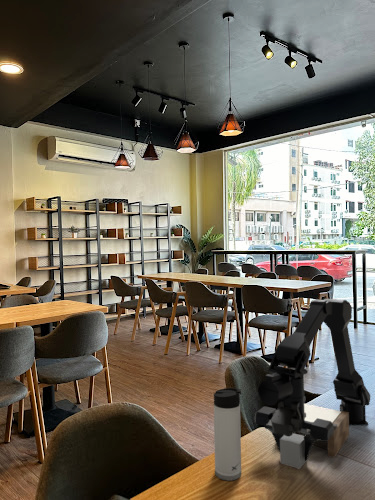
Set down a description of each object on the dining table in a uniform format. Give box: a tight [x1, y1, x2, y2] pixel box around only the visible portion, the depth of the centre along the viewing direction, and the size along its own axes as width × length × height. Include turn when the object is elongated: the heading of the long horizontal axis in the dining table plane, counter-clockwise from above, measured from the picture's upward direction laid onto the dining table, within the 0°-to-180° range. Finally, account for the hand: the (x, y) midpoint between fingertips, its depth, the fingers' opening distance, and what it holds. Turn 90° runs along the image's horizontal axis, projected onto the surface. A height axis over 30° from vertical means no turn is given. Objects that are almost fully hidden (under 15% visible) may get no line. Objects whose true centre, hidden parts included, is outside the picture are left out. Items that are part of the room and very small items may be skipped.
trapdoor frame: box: [283, 411, 350, 458], centre depth 112 cm, size 15×16×7 cm
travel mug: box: [213, 387, 242, 482], centre depth 95 cm, size 6×7×20 cm
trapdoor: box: [296, 403, 341, 435], centre depth 112 cm, size 14×12×2 cm
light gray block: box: [279, 432, 307, 470], centre depth 100 cm, size 5×5×6 cm
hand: (293, 456), depth 100 cm, fingers open, 6 cm apart
